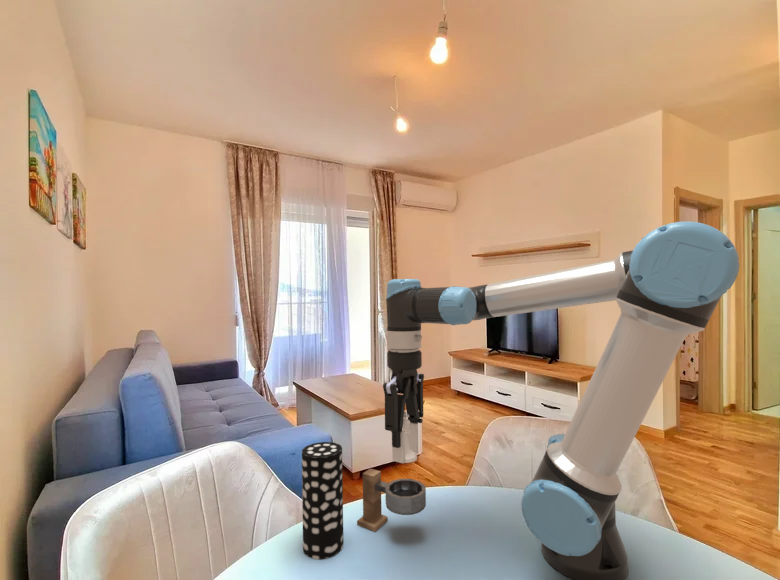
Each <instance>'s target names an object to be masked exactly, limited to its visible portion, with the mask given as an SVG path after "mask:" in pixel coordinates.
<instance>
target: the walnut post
mask: <svg viewBox="0 0 780 580" xmlns="http://www.w3.org/2000/svg"><path fill="white" fill-rule="evenodd" d="M378 481H382V472H381V471H380V470H377V469H374V468H369V469H367V470H365V471H364V472H362V516H361V517H359V519H357V520H356V526H357V527H361V528H363V529H366V530H369V531H371V532H374V533H376V532H377V531H378V530H379V529H380V528H382V527H383V526H384V525H385V524H386V523H387V522H388V516H387V515H385V514H382V492H381V491H378V490H375V484H376V483H377V482H378Z"/></svg>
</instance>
